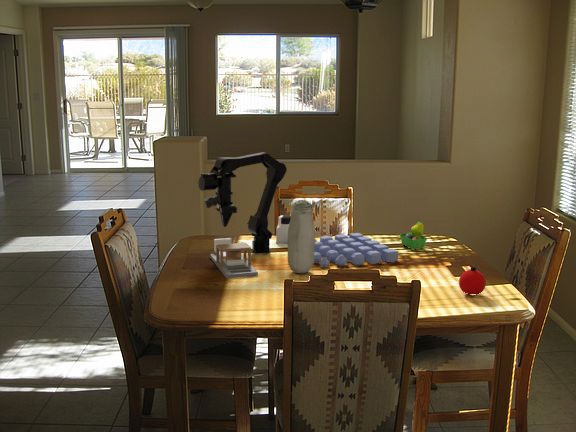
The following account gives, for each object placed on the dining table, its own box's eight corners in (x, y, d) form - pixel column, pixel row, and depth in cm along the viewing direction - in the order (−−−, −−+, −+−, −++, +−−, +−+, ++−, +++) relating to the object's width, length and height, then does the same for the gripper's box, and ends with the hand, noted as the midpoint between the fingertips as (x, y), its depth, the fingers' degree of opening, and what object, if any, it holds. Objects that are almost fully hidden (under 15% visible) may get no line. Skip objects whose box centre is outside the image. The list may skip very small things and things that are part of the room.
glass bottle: (311, 277, 248) (313, 203, 242) (285, 275, 250) (285, 202, 244) (315, 269, 258) (317, 198, 252) (290, 267, 260) (291, 197, 254)
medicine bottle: (293, 240, 304) (293, 214, 302) (291, 243, 297) (292, 217, 295) (277, 239, 305) (278, 214, 303) (276, 243, 298) (276, 217, 296)
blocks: (398, 263, 270) (398, 251, 269) (321, 270, 258) (321, 258, 257) (358, 243, 302) (358, 232, 301) (288, 249, 290) (288, 238, 289)
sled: (230, 249, 279) (230, 238, 278) (244, 264, 257) (244, 252, 256) (214, 250, 277) (214, 239, 276) (227, 266, 255) (227, 253, 254)
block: (238, 258, 262) (238, 248, 261) (241, 261, 258) (241, 251, 257) (225, 259, 261) (225, 249, 260) (228, 262, 256) (228, 252, 255)
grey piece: (238, 255, 276) (238, 235, 275) (257, 275, 249) (257, 254, 247) (210, 257, 273) (210, 237, 271) (226, 278, 245) (226, 256, 243)
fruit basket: (398, 245, 297) (399, 220, 295) (414, 243, 301) (415, 219, 298) (413, 251, 287) (414, 226, 285) (429, 249, 291) (431, 224, 288)
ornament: (464, 289, 236) (466, 262, 234) (489, 294, 230) (491, 266, 228) (453, 295, 229) (455, 267, 227) (478, 301, 223) (480, 272, 221)
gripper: (200, 185, 275) (200, 222, 278) (209, 193, 257) (209, 232, 260) (226, 184, 278) (226, 221, 281) (237, 192, 261) (237, 230, 264)
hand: (224, 226), depth 272 cm, fingers closed
